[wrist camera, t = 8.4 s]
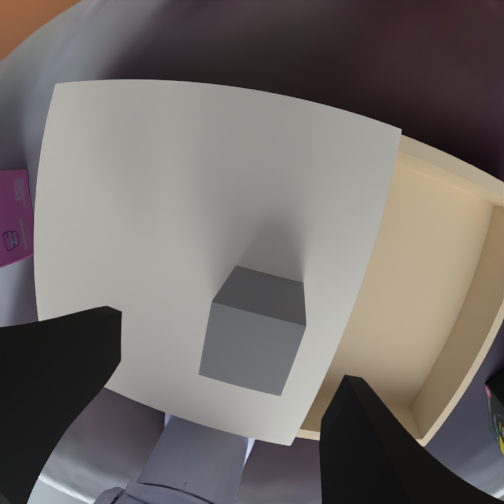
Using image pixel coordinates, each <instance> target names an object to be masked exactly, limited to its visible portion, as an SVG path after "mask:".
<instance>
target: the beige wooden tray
mask: <svg viewBox="0 0 504 504" xmlns="http://www.w3.org/2000/svg"><path fill="white" fill-rule="evenodd" d="M503 319H504V182H502V181H500V180H498V179H497V178H495V177H493V176H491V175H489V174H488V173H486V172H484V171H482V170H480V169H478V168H476V167H474V166H472V165H470V164H468V163H466V162H464V161H462V160H460V159H458V158H456V157H454V156H451V155H449V154H447V153H445V152H443V151H440V150H438V149H436V148H433V147H431V146H429V145H426V144H424V143H422V142H419V141H417V140H414V139H412V138H409V137H406V136H404V135H401V137H400V142H399V147H398V152H397V157H396V162H395V167H394V171H393V176H392V180H391V184H390V188H389V192H388V196H387V200H386V204H385V208H384V212H383V216H382V219H381V223H380V226H379V230H378V233H377V237H376V240H375V244H374V247H373V250H372V253H371V257H370V260H369V263H368V266H367V269H366V272H365V275H364V278H363V281H362V284H361V287H360V290H359V293H358V295H357V298H356V301H355V304H354V306H353V309H352V312H351V315H350V317H349V320H348V322H347V325H346V328H345V330H344V333H343V335H342V338H341V340H340V342H339V345H338V347H337V350H336V352H335V354H334V357H333V359H332V361H331V364H330V366H329V368H328V371H327V373H326V375H325V377H324V379H323V382H322V384H321V386H320V388H319V390H318V392H317V395H316V397H315V399H314V401H313V403H312V405H311V407H310V409H309V411H308V413H307V415H306V417H305V419H304V421H303V423H302V425H301V427H300V429H299V431H298V432H297V434H296V436H295V437H301V438H307V439H314V440H320V428H321V419H322V417H323V415H324V413H325V411H326V409H327V408H328V406H329V404H330V402H331V400H332V398H333V396H334V394H335V392H336V391H337V389H338V387H339V385H340V383H341V381H342V379H343V377H344V375H351V376H356V377H362V378H363V379H364V380H365V381H366V382H367V383H368V384H369V385H370V387H371V388H372V389H373V390H374V392H375V393H376V394H377V395H378V396H379V398H380V399H381V400H382V401H383V403H384V404H385V405H386V406H387V408H388V409H389V410H390V411H391V412H392V414H393V415H394V416H395V417H396V418H397V420H398V421H399V422H400V423H401V424H402V425H403V427H404V428H405V429H406V430H407V431H408V432H409V433H410V434H411V435H412V436H413V437H414V438H415V440H416V441H417V442H418V443H419V444H420V445H421V446H425V445H426V444H427V443H428V442H429V440H430V439H431V438H432V437H433V435H434V434H435V433H436V432H437V430H438V429H439V428H440V426H441V425H442V424H443V422H444V421H445V420H446V418H447V417H448V415H449V414H450V413H451V411H452V410H453V408H454V407H455V405H456V404H457V402H458V401H459V399H460V398H461V396H462V395H463V393H464V392H465V390H466V389H467V387H468V385H469V384H470V382H471V381H472V379H473V377H474V375H475V374H476V372H477V370H478V369H479V367H480V365H481V363H482V361H483V360H484V358H485V356H486V354H487V352H488V350H489V348H490V346H491V344H492V342H493V340H494V338H495V336H496V334H497V332H498V330H499V328H500V326H501V323H502V321H503Z"/></svg>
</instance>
